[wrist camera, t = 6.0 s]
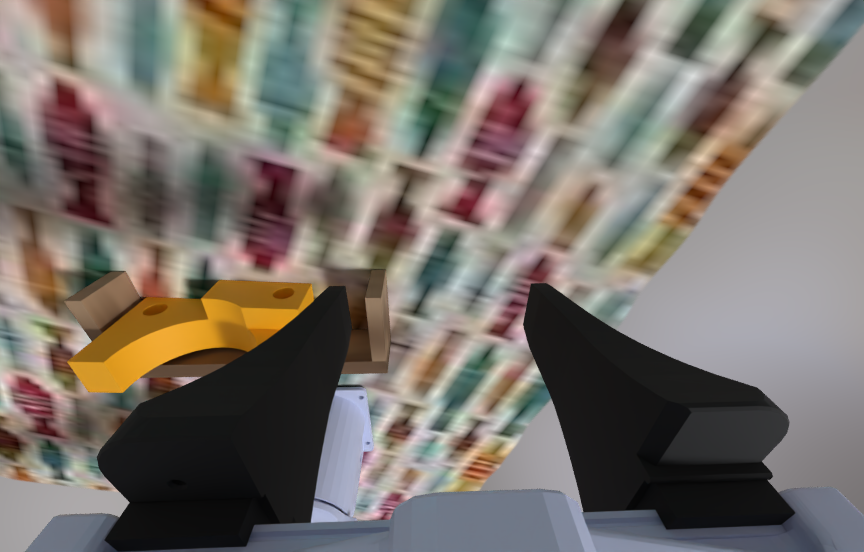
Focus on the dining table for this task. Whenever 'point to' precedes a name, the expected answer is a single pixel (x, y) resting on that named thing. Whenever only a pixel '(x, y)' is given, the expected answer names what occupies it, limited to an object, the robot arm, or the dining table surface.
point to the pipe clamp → (187, 329)
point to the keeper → (118, 297)
